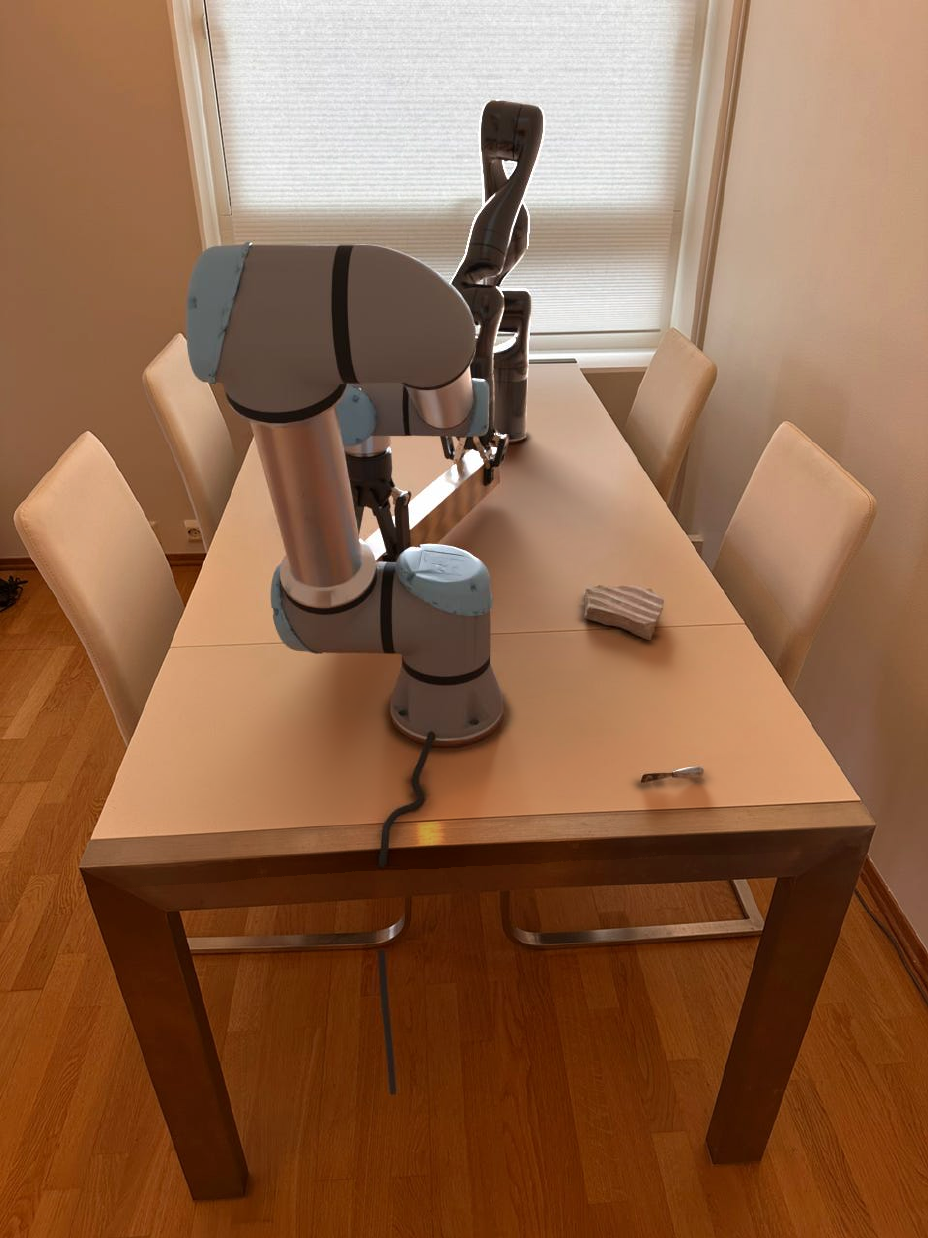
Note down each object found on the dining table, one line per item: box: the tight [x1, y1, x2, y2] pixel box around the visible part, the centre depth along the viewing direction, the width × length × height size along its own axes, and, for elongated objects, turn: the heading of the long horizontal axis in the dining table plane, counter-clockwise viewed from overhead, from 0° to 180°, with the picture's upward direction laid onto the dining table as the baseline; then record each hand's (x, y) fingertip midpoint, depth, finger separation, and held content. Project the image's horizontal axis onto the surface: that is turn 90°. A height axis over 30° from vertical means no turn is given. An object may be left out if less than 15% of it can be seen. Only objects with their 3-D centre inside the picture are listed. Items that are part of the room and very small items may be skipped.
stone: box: [583, 584, 665, 641], centre depth 141 cm, size 13×12×3 cm
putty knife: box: [640, 765, 705, 784], centre depth 109 cm, size 1×8×2 cm, turn 103°
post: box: [363, 446, 501, 562], centre depth 158 cm, size 55×5×7 cm, turn 156°
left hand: (375, 584), depth 144 cm, fingers closed on post, 5 cm apart
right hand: (473, 481), depth 174 cm, fingers closed on post, 5 cm apart
